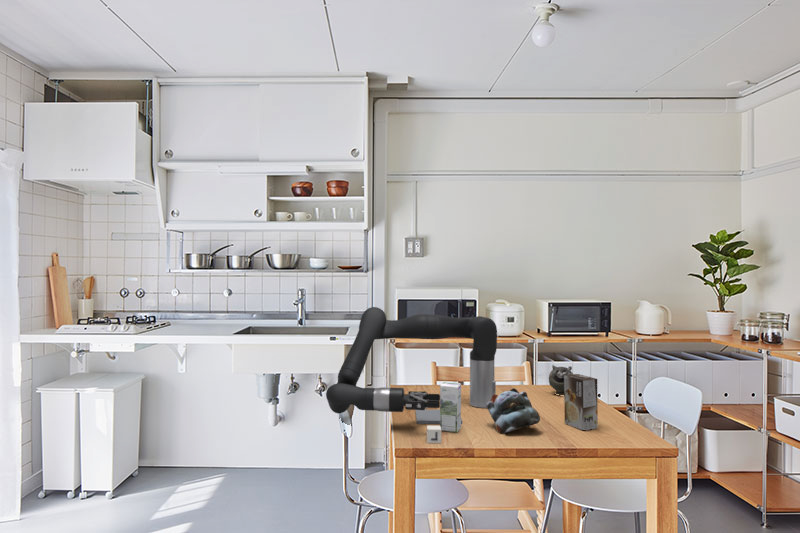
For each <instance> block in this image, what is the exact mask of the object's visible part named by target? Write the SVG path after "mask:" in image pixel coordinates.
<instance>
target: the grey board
mask: <svg viewBox="0 0 800 533" xmlns="http://www.w3.org/2000/svg"><path fill="white" fill-rule="evenodd" d="M415 419H416V420H415V421H416V424H417V425H418V424H419V425H420V424H421V425H440V409H425V410H415ZM461 425H463V419H462V418H461Z"/></svg>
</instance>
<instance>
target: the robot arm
mask: <svg viewBox="0 0 800 533" xmlns="http://www.w3.org/2000/svg"><path fill="white" fill-rule="evenodd" d="M453 337H454V338H455V337H456V338H466V339H472V340H473V341H472V349H471V351H470V352H469V405H470V406H471V407H475V408H480V409H481V408H485V409H487V406H486V404H487V403H488V402H489V401H490V400H491V398H492V395H494V394H496V395H497V393H496V389H497V388H496V387H497V386H496V385H497V384H496V380H495V359H496V358H495V355H496V353H497V344H498V328H497V324H496V323H495V321H494V320H493V319H491V318H489V317H485V316H479V315H478V316H469V317H467V316H466V317H454V316H453V317H452V316H448V315H441V314H429V313H427V314H426V313H421V314H420V313H419V314H415V315H411V316H408V317H404V318H401V319H396V320H395V319H394V320H392V319H391V320H388V319H387V315H386V313H385V310H383V309H382V308H381V307H377V306H371V307H368V308H367V309H366V310H364V311H363V313H362V315H361V318H360V322H359V325H358V332H357V334H356V336H355V339H354V341H353V343H352V345H351V347H350V349H349V351H348V352H347V355H346V357H345V359H344V360H343V363H342V365H341V367H340V368H339V371H338V374H337V383H334V384H331V385H330V386H329V387H328V388H327V389H326V392H325V397H326V400H327V402H328V406H329V408H330V410H331V411H332V412H333V413H335V414H343V413H345V412H346V411H348V409H349V408H350V407H351V405H352V406H355V407H356V408H357V409H358V410H360V411H377V412H383V413H385V412H387V413H388V412H390V413H402V412H404V411H405V410H411V411H412V410H413V411H416V410H428V409H440V393H428V392H427V391H425V390H424V391H419V390H418V391H413V390H412V391H408V392H407V394H406V393H405V389H404V387H360V386H357V385H358V384H357V383H358V381H359V379H360V377H361V375H362V373H363V371H364V368H365V365H366V362H367V360H368V357H369V354H370V351H371V348H372V346H373V344H374V342H375V340H386V339H387V340H388V339H417V340H442V339H443V340H444V339H447V338H453Z"/></svg>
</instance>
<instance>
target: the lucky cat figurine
mask: <svg viewBox="0 0 800 533" xmlns="http://www.w3.org/2000/svg"><path fill="white" fill-rule="evenodd" d="M486 406H487V408H486V409H487V411H488V413H489V414H490V416H491V419H492V420H493V422H494V424H495V429H496V431H497V432H498V433H501V434H503V435H505V434H507V433H510V432H513V431H515V430H518V429H522V428H529V427H532V426H533V425H534V426H535V425H536V424H539V422H540V421H541V417H540V413H539V411H537V410H536V409H535V408H534V407H533V405H532V403H531V401H530V399H529V396H528V393H527V392H526V391H521V392H519V391H518V390H517V389H516V388H514V387H513V388H511V389H510V390H505V391H503V392H501V393H500V394H497V393H496V394H494V395H492V398H491V400H490V401H489V402H488V403H487V404H486Z"/></svg>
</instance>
